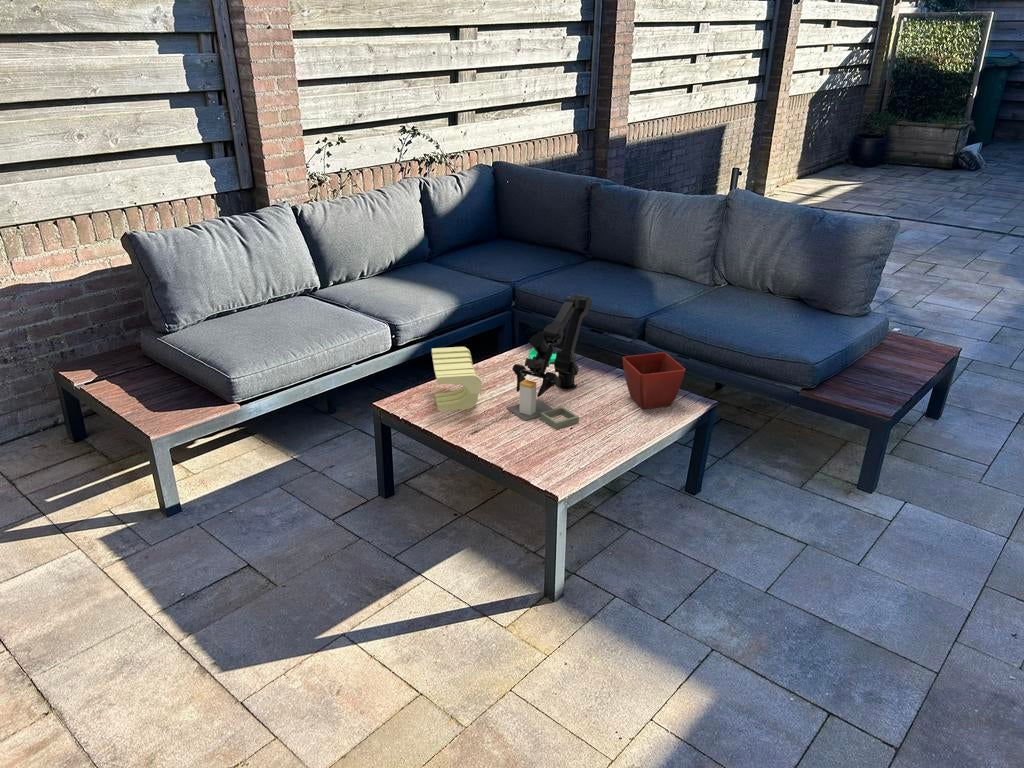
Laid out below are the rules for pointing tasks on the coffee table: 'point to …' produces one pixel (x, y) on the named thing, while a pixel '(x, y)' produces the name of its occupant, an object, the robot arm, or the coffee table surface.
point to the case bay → (563, 423)
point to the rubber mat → (539, 408)
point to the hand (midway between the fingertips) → (527, 394)
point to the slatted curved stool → (456, 378)
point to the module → (527, 397)
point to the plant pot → (653, 379)
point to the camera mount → (533, 353)
